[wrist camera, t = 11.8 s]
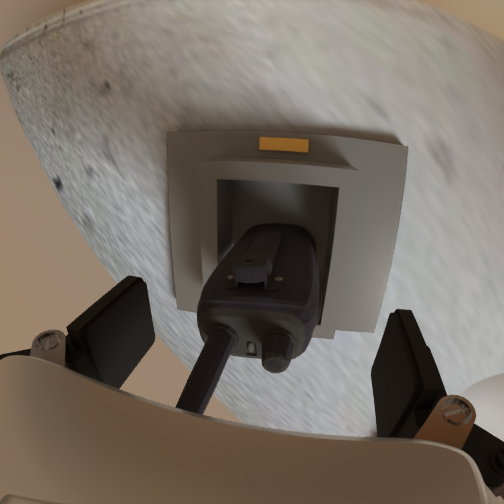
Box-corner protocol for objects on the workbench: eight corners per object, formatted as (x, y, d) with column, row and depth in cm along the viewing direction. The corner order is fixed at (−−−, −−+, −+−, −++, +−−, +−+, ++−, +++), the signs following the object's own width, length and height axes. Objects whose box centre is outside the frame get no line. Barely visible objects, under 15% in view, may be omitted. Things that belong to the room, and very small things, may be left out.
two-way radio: (240, 266, 21) (139, 448, 8) (236, 205, 20) (88, 348, 6) (318, 268, 20) (312, 479, 7) (320, 205, 19) (335, 385, 5)
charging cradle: (403, 146, 17) (428, 148, 13) (371, 325, 22) (380, 361, 18) (173, 132, 20) (140, 133, 15) (181, 303, 25) (159, 333, 21)
